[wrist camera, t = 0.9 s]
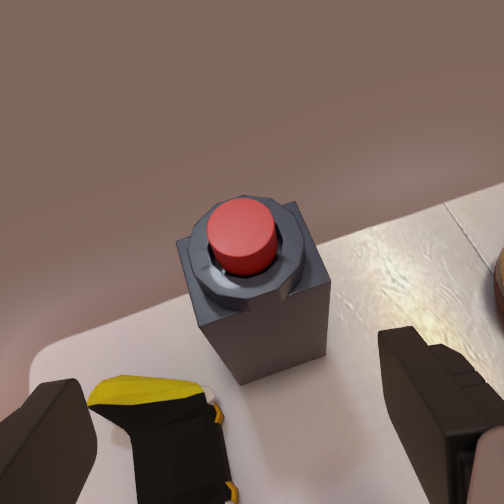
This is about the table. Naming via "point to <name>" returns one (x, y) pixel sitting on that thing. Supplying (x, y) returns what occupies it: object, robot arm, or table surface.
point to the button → (242, 236)
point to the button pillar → (261, 299)
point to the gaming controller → (169, 438)
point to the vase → (499, 280)
